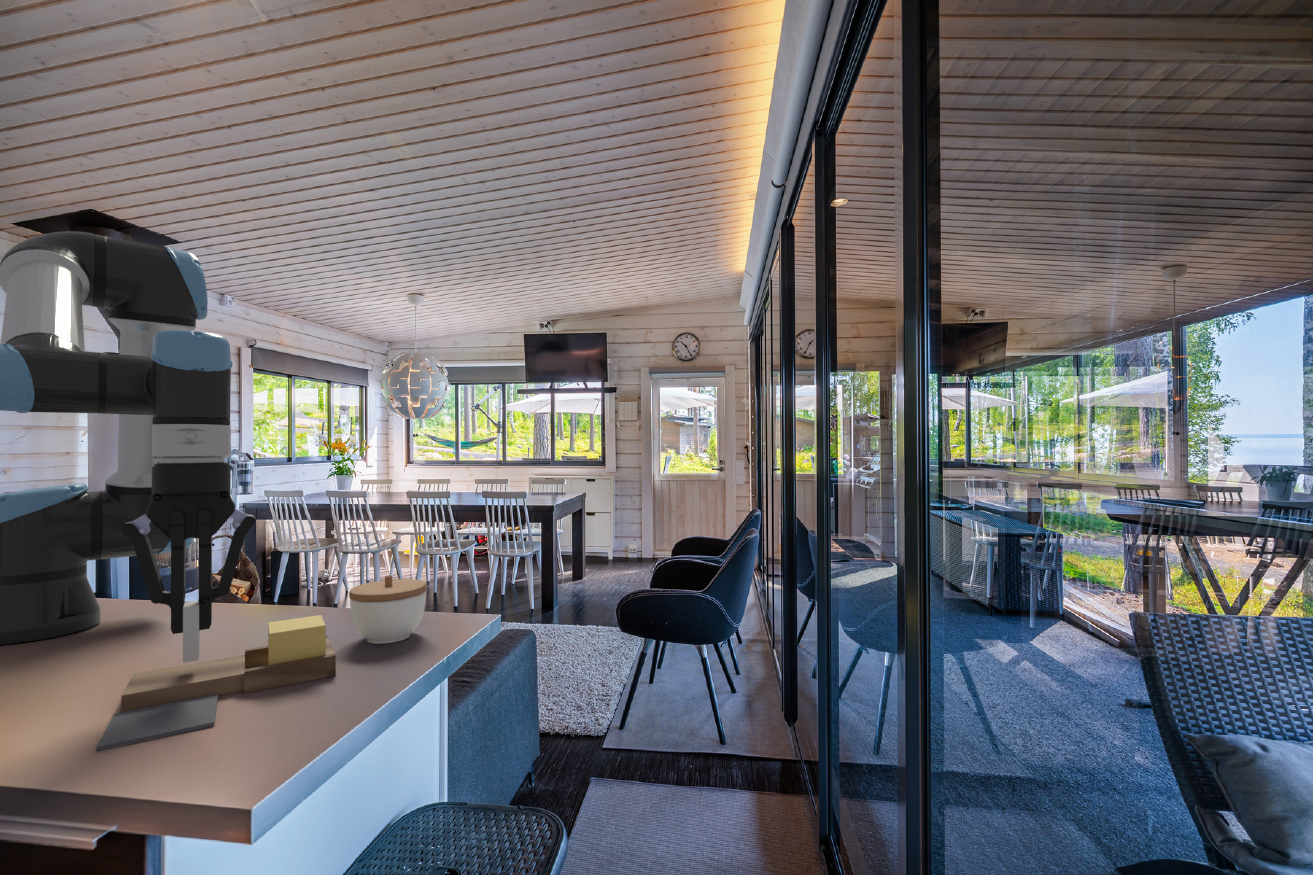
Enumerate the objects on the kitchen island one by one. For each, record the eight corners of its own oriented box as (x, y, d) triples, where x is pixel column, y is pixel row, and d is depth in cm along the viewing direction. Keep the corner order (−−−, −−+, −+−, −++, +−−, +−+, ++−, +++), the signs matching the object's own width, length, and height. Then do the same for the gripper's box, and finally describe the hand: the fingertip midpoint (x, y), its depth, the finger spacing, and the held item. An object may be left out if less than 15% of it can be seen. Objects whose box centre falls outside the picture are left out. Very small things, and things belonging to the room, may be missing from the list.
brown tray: (134, 687, 73) (134, 666, 73) (327, 653, 84) (327, 635, 84) (119, 717, 64) (119, 693, 64) (335, 675, 76) (335, 655, 76)
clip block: (268, 622, 78) (321, 614, 81) (268, 669, 78) (321, 659, 81) (269, 633, 73) (325, 625, 76) (269, 683, 73) (325, 672, 76)
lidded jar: (441, 631, 94) (441, 571, 94) (385, 652, 84) (385, 585, 85) (391, 624, 98) (391, 566, 99) (332, 644, 89) (332, 580, 89)
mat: (114, 717, 65) (114, 713, 65) (218, 697, 70) (218, 693, 70) (96, 751, 57) (96, 746, 57) (214, 725, 62) (214, 721, 62)
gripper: (114, 462, 66) (113, 680, 65) (258, 460, 73) (257, 655, 73) (125, 461, 72) (124, 660, 71) (256, 459, 79) (256, 640, 79)
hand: (191, 658), depth 72 cm, fingers closed
